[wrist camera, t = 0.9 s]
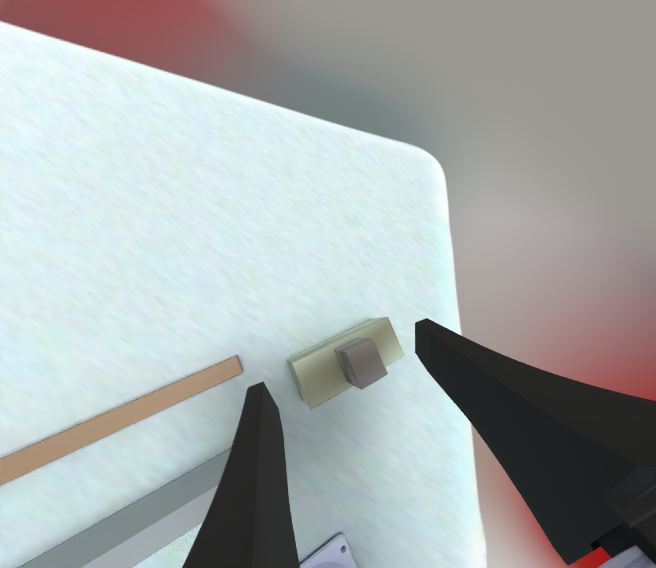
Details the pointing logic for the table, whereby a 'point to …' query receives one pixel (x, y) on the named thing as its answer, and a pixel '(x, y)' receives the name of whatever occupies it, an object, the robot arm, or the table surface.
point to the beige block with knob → (345, 361)
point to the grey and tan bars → (150, 511)
